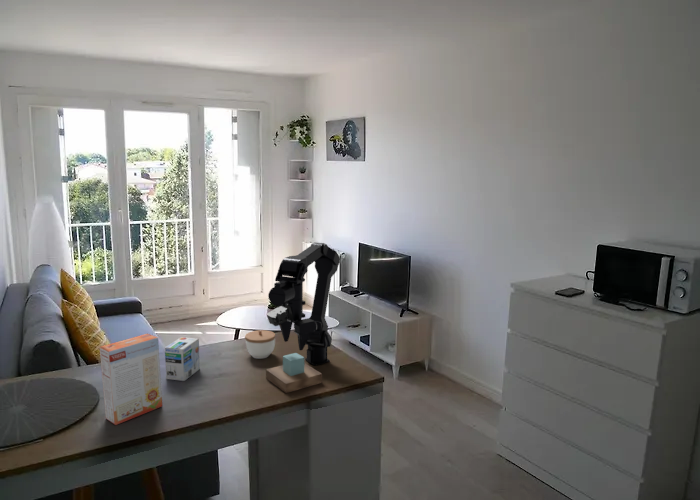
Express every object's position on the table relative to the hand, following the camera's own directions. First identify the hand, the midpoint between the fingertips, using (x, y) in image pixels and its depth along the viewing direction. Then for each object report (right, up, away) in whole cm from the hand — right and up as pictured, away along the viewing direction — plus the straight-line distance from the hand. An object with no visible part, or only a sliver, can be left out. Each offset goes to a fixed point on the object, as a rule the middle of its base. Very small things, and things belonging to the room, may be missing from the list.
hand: (293, 345), depth 163 cm
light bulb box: (-37, -11, +6) cm, 39 cm away
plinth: (0, -12, +2) cm, 12 cm away
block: (0, -9, +2) cm, 9 cm away
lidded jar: (-14, -8, +22) cm, 28 cm away
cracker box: (-42, -15, -20) cm, 49 cm away
